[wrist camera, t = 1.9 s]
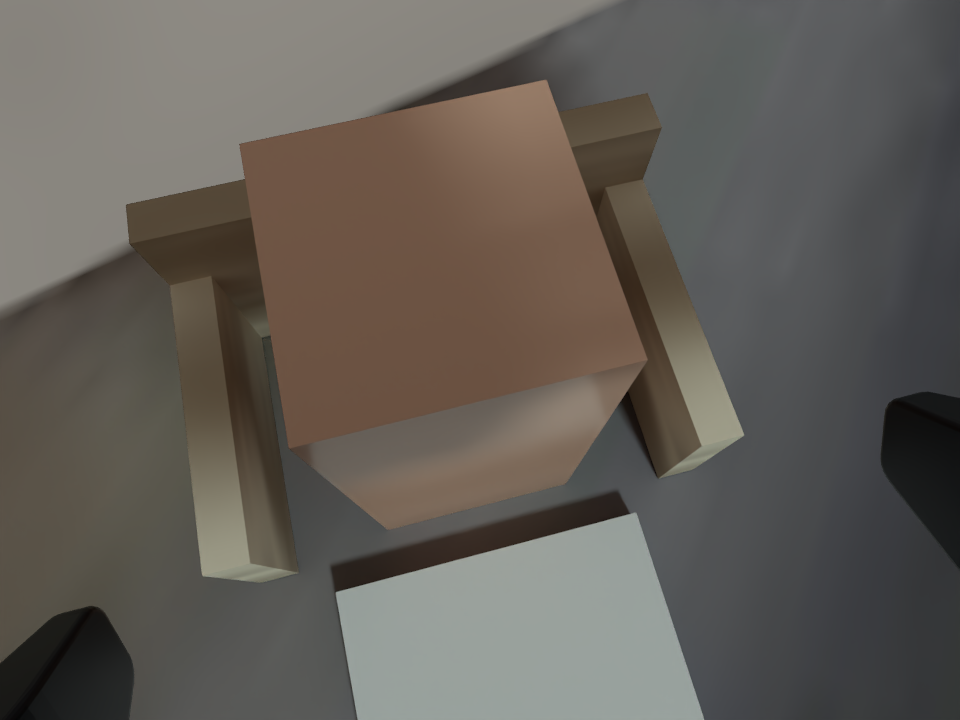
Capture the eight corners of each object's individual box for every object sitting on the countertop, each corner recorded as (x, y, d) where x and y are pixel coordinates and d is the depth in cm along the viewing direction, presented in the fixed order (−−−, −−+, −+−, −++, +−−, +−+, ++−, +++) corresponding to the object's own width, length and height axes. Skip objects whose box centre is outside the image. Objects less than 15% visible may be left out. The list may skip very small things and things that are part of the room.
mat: (734, 831, 16) (743, 839, 15) (400, 933, 15) (397, 946, 15) (631, 515, 18) (636, 512, 18) (340, 592, 18) (335, 592, 17)
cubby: (692, 469, 19) (781, 410, 13) (260, 582, 18) (158, 571, 12) (604, 227, 22) (647, 93, 16) (223, 315, 21) (125, 204, 15)
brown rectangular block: (565, 484, 19) (647, 360, 9) (388, 530, 18) (288, 448, 9) (517, 321, 20) (546, 79, 11) (353, 361, 20) (239, 144, 11)
